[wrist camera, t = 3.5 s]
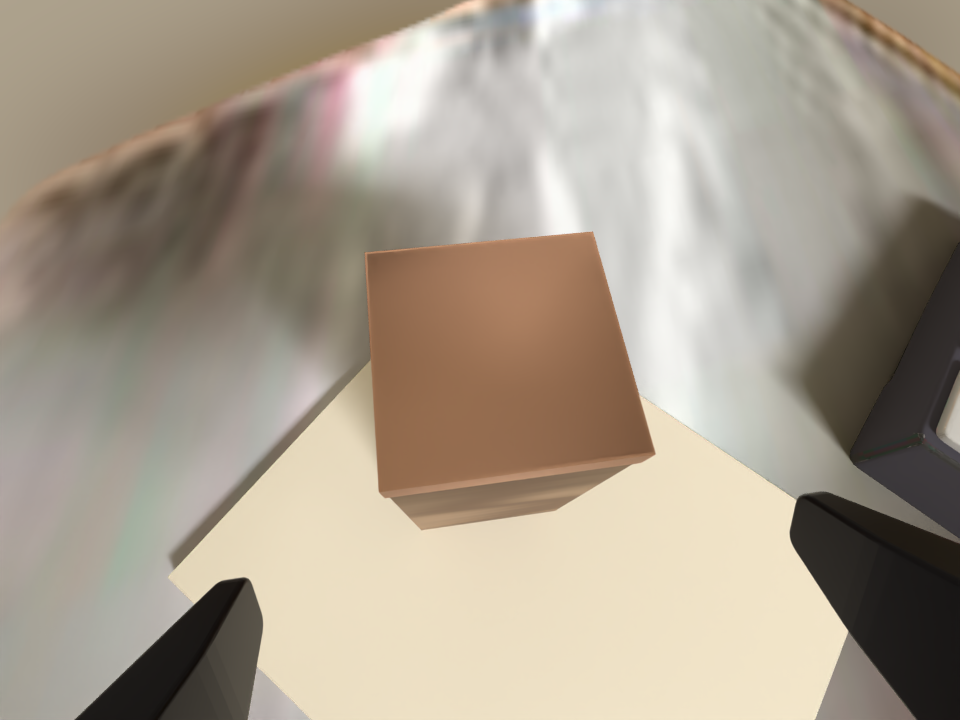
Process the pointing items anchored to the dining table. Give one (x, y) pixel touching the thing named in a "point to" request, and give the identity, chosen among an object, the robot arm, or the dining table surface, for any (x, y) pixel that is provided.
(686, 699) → the placemat
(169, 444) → the dining table surface
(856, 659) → the dining table surface
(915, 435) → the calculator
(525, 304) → the walnut block
